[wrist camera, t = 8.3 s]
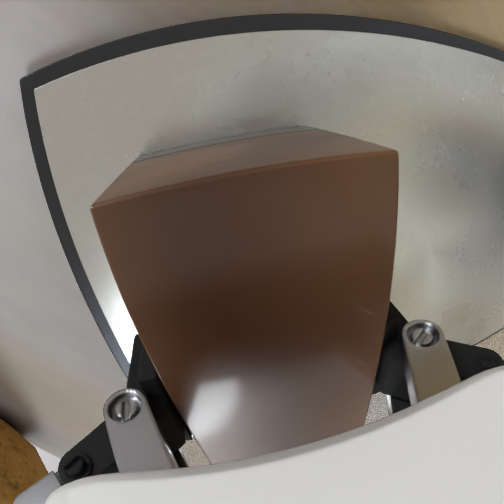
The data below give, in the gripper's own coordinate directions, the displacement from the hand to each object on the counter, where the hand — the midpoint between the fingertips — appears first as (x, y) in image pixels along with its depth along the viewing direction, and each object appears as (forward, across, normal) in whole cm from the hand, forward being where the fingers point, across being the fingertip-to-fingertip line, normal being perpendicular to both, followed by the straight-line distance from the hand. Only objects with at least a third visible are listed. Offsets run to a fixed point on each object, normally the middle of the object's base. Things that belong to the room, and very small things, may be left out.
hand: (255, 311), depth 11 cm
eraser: (+1, 0, 0) cm, 1 cm away
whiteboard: (+2, -8, 0) cm, 9 cm away
